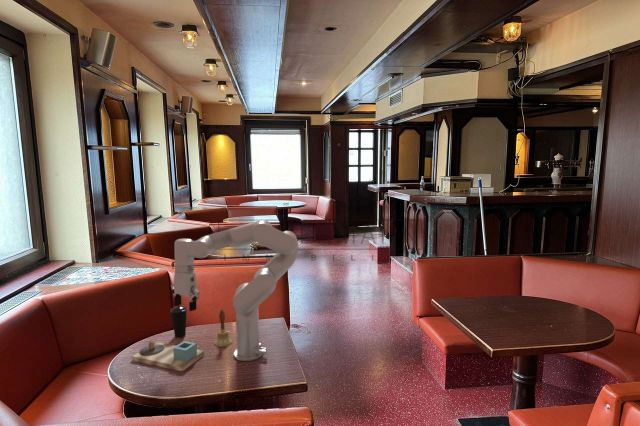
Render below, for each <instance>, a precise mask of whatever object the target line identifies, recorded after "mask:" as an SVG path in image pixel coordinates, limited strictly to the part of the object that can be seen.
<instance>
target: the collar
mask: <svg viewBox="0 0 640 426" xmlns="http://www.w3.org/2000/svg"><path fill="white" fill-rule="evenodd" d="M197 350H198V346H197V342H196V343H195V342H191V341H184V340H183V341H181V342H180V343H179V344H177V345H176V346H175V347H174V348H173V355H174V359H175V360H180V361H185V362H187V361H189V360H190V359H191V358H193V357H194V356H196V355H197Z"/></svg>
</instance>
